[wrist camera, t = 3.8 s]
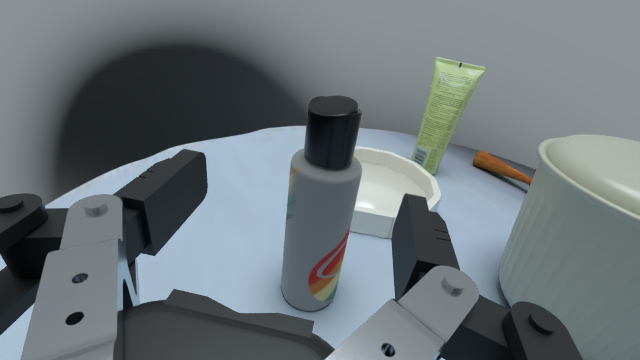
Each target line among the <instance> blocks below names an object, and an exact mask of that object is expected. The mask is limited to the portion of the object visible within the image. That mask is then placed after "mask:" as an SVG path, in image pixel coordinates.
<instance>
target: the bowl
mask: <svg viewBox="0 0 640 360" xmlns="http://www.w3.org/2000/svg"><path fill="white" fill-rule="evenodd" d="M354 157H356V158H357V159H358V160H359V162H360V163H361V165H362V175H361V180H360V185H359V190H358V194H357V199H356V203H355V208H354V212H353V217H352V221H351V226H350V230H349V231H352V232H357V233H362V234H367V235H372V236H377V237H382V238H387V237H388V239H389V238H392V231H393V226H394V223H395V220H396V217H397V214H398V211H399V208H400V205H401V202H402V199H403V196H404V194H405V193H407V194H412V195H417V196H422V197H425V198H426V200H427V204H428V208H429V211H432V212H436V210H437V207H438V205H439V202H440V200H441V197H442V196H441V193H440V190H439V187H438V184H437V181H436V179H435V178H434V177H433V176H432V175H431V174H429V173H428V172H427V171H426V170H425V169H423V168H422V167H421V166H420V165H418V164H417V163H416V162H413V161H411V160H409V159H406V158H404V157H401V156H399V155H397V154H394V153H392V152H389V151H384V150H378V149H373V148H367V147H360V146H358V147H355V151H354Z"/></svg>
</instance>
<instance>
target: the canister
mask: <svg viewBox="0 0 640 360" xmlns="http://www.w3.org/2000/svg"><path fill="white" fill-rule="evenodd" d="M537 153H538V158H539V160H540V163H539V165H538V168H537V170H536V172H535V175H534V177H533V179H532V182H531V184H530V187H529V189H528V192H527V194H526V197H525V199H524V201H523V204H522V206H521V209H520V211H519V213H518V216H517V218H516V221H515V223H514V226H513V228H512V231H511V234H510V236H509V239H508V242H507V245H506V247H505V250H504V253H503V256H502V259H501V262H500V267H499V281H500V284H501V289H502V291H503V293H504V297H505V299H506V300H507V301H508V302H509V305H510V307H512V306H513V304H515V303H517V302H520V301H526V302H531V303H534V304H537V305H539V306H541V307H543V308H545V309H546V310H548V311H550V312H551V313H552V314H554V315H555V316H556V317H557V318H558V319H559V320H560V321H561V322H562V323H563V324H564V326H565V327H566V328H567V330H568V332H569V333H570V335H571V337H572V339H573V341H574V343H575V345H576V347H577V349H578V351H579V353H580V355H581V357H582V358H583V360H640V142H638V141H634V140H628V139H623V138H617V137H611V136H602V135H572V136H568V137H564V138H553V139H549V140H546V141H544V142H542V143H541V144H540V145H539V147H538V151H537Z"/></svg>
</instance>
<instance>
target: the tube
mask: <svg viewBox="0 0 640 360" xmlns="http://www.w3.org/2000/svg"><path fill="white" fill-rule="evenodd" d="M485 69H486V67H482V66H476V65H471V64H467V63H461V62H457V61H452V60H448V59H444V58H440V57H436V60H435V65H434V72H433V78H432V83H431V87H430V92H429V96H428V100H427V105H426V109H425V113H424V117H423V120H422V124H421V128H420V132H419V135H418V139H417V142H416V146H415V149H414V152H413V156H412V159H411V161H413V162H416V163H417V164H418V165H420V166H421V167H422V168H423V169H425V170H426V171H427V172H428V173H429V174H431V175H433V174H435V173H436V171H437V169H438V166H439V164H440V162H441V159H442V157H443V155H444V152H445V150H446V148H447V146H448V143H449V141H450V139H451V136H452V134H453V132H454V130H455V127H456V126H457V124H458V121H459V119H460V117H461V115H462V113H463V111H464V109H465V107H466V105H467V103H468V101H469V99H470V97H471V95H472V93H473V91H474V89H475V87H476V85H477V83H478V82H479V80H480V78H481V76H482V75H483V73H484V71H485Z"/></svg>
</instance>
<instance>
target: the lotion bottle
mask: <svg viewBox="0 0 640 360" xmlns="http://www.w3.org/2000/svg"><path fill="white" fill-rule="evenodd" d="M361 114H362V111H361V110H360V109H358V104H357V102H356V101H355V100H353V99H351V98H349V97H345V96H327V97H325V96H321V97H316V98H314V99H312V100H311V101H310V103H309V108H308V117H307V126H306V136H305V146H304V149H301V150H299V151H298V152H296V153H295V154H294V155H293V157H292V160H291V167H290V178H289V190H288V203H287V216H286V228H285V241H284V254H283V267H282V282H281V285H282V292H283V295H284V297H285V299H286V300H287V301H288V302H289V303H290V304H291V305H292V306H294V307H296V308H298V309H301V310H305V311H315V310H319V309H322V308H324V307H325V306H327V305H328V304H329V303H330V302H331V300H332V299H333V297H334V295H335V291H336V288H337V284H338V279H339V275H340V271H341V266H342V262H343V257H344V253H345V248H346V244H347V239H348V235H349V230H350V226H351V221H352V217H353V212H354V208H355V203H356V199H357V194H358V190H359V185H360V180H361V175H362V165H361V163H360V162H359V160H358V159H357V158H356V157H354V151H355V145H356V140H357V135H358V130H359V125H360V120H361Z"/></svg>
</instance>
